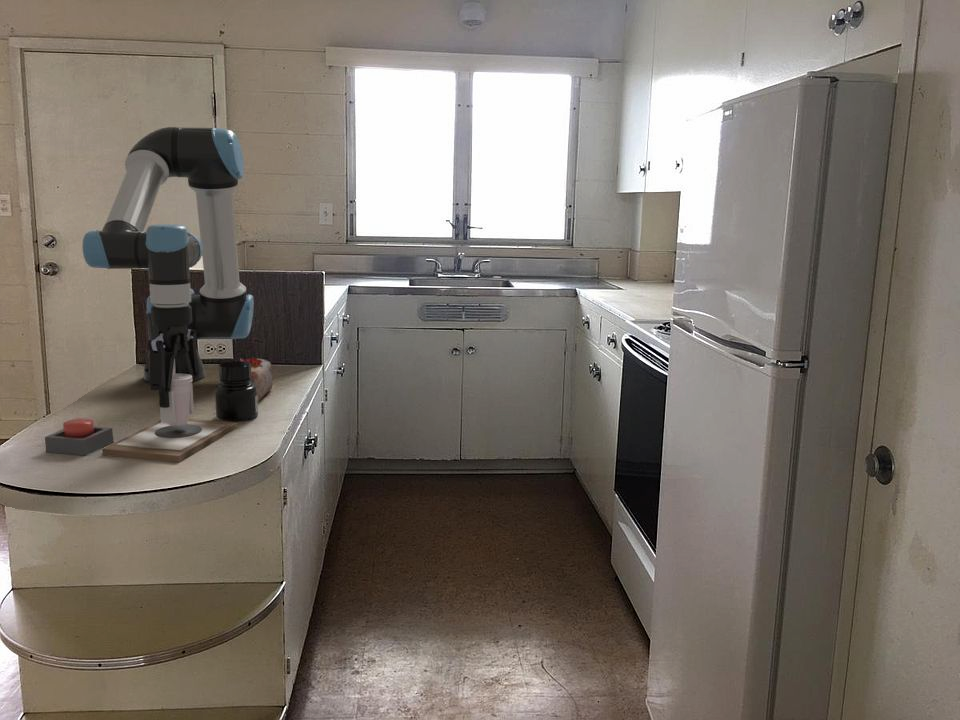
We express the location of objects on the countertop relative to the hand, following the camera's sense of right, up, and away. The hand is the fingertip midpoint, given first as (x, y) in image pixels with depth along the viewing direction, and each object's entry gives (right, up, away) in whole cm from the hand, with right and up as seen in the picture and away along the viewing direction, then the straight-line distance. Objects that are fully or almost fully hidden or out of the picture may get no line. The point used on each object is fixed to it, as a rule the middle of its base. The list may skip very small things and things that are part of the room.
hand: (177, 417), depth 161 cm
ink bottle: (+7, -1, +17) cm, 18 cm away
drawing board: (0, -5, -1) cm, 5 cm away
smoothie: (0, -1, 0) cm, 1 cm away
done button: (-17, -3, -7) cm, 18 cm away
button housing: (-17, -5, -6) cm, 19 cm away
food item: (+6, +2, +33) cm, 34 cm away
